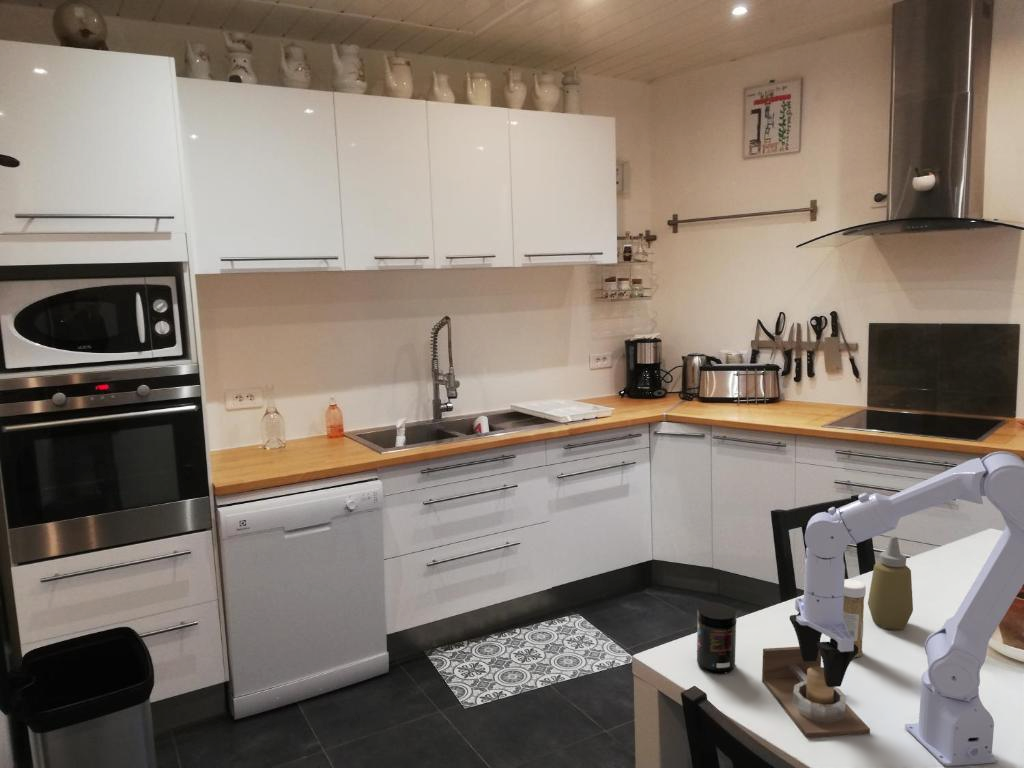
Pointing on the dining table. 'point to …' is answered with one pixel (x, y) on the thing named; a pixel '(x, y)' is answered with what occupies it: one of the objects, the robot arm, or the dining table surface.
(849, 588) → the sprinkles bottle
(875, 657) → the dining table surface
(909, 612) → the squeeze bottle
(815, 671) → the oak peg
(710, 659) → the supplement container
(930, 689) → the robot arm
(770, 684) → the cup bracket
